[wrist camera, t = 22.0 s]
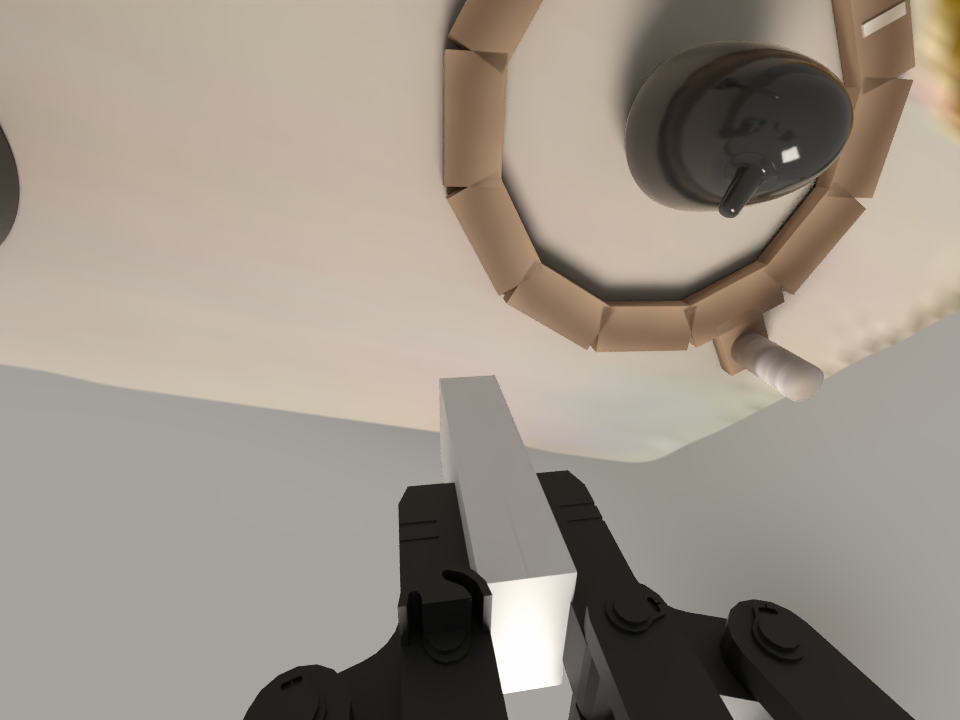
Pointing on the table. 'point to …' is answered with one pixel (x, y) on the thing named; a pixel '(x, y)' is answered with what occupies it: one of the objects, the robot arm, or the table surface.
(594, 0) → the table surface
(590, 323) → the turntable ring
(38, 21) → the table surface
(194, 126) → the table surface
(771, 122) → the pump dispenser
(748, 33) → the table surface
